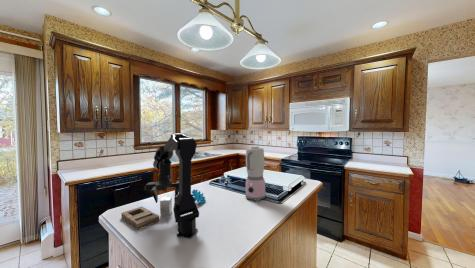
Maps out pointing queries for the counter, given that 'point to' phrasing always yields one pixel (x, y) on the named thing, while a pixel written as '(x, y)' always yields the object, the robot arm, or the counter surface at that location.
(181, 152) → the robot arm
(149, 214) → the socket block
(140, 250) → the counter surface
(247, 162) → the blender
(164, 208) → the square bit
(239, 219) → the counter surface
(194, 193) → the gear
